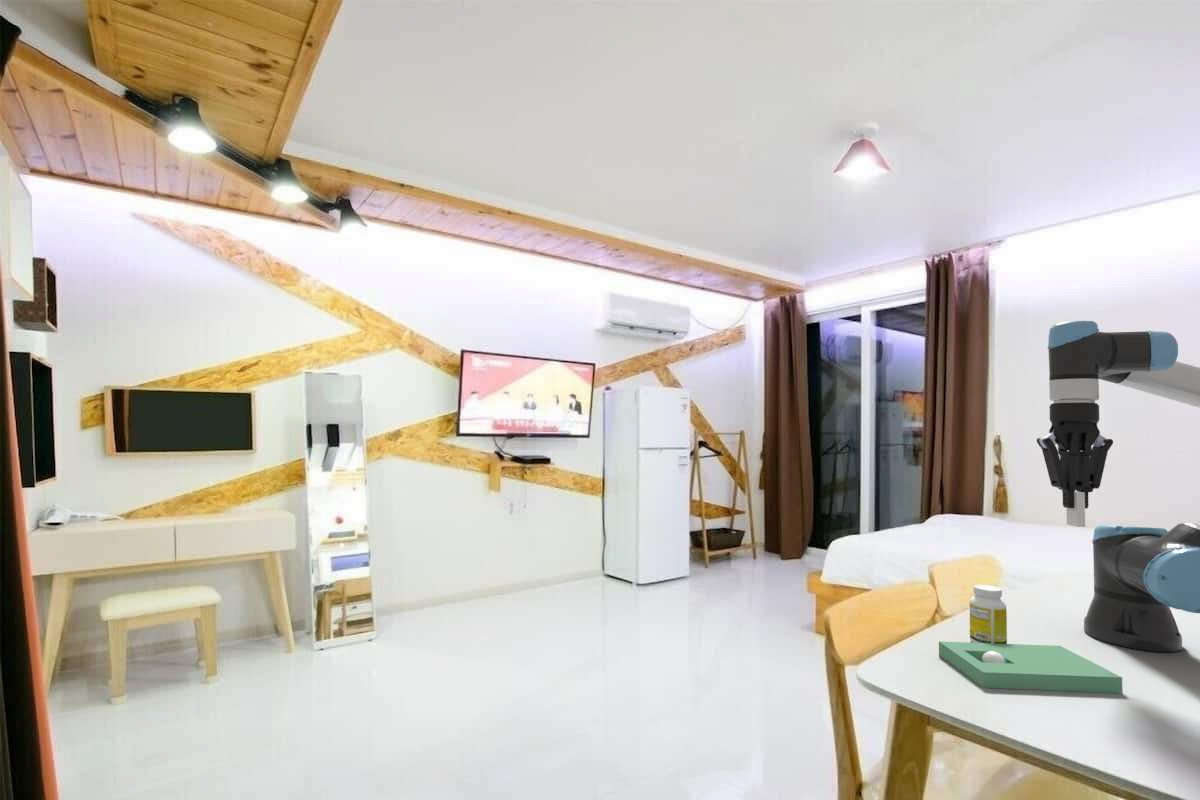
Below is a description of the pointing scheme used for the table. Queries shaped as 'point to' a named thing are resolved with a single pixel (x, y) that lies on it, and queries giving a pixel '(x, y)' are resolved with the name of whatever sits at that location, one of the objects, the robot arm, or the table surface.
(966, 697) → the table surface
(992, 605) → the pill bottle
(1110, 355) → the robot arm
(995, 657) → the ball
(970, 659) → the green
